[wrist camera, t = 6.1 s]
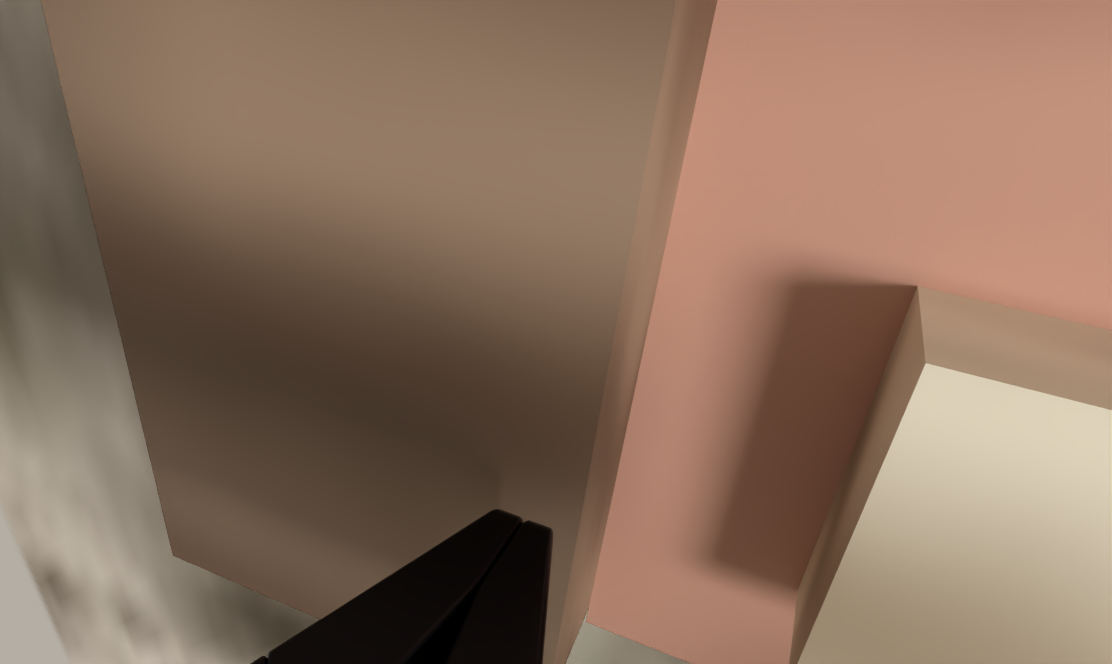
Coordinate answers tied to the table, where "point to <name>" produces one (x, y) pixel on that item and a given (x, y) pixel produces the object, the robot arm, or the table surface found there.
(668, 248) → the mat
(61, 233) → the table surface
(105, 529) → the table surface
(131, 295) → the deck
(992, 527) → the tile
